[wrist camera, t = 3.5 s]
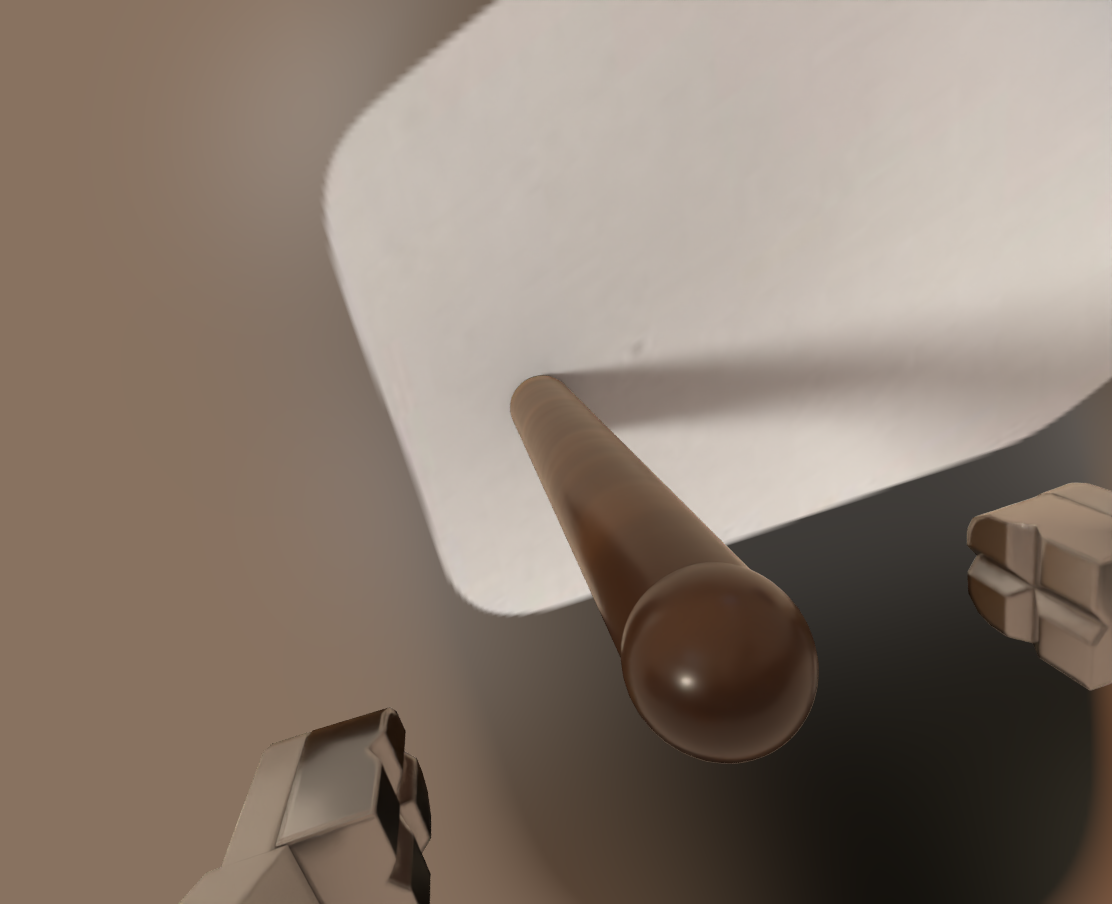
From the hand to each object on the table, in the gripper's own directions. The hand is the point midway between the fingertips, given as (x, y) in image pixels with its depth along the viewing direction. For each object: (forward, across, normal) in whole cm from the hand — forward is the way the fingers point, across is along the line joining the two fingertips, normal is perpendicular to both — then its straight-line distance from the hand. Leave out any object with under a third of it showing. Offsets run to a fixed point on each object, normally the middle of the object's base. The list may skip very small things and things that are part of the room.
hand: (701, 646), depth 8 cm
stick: (+14, 0, 0) cm, 14 cm away
